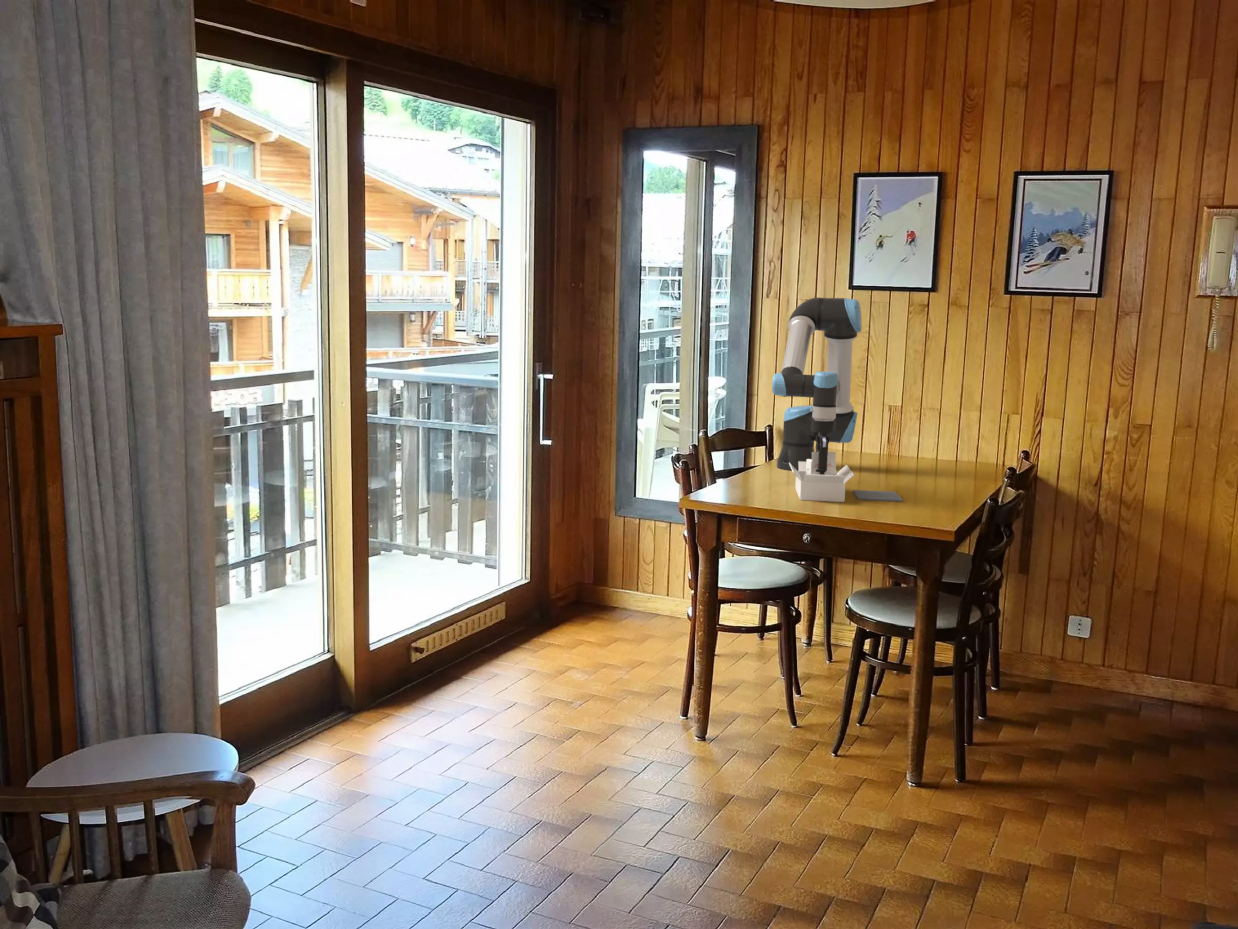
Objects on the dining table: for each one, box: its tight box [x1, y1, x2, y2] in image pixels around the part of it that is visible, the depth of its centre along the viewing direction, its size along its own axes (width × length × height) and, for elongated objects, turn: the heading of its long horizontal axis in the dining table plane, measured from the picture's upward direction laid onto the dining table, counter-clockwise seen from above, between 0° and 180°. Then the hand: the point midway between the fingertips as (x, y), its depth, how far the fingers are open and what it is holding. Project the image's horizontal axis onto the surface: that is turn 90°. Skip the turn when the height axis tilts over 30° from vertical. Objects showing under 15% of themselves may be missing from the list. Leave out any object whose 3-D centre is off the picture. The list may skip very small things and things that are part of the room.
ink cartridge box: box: [806, 451, 837, 475], centre depth 366 cm, size 9×5×15 cm, turn 101°
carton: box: [789, 461, 855, 503], centre depth 366 cm, size 25×19×9 cm
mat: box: [852, 489, 904, 503], centre depth 367 cm, size 14×14×1 cm
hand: (819, 489), depth 367 cm, fingers closed on ink cartridge box, 6 cm apart
